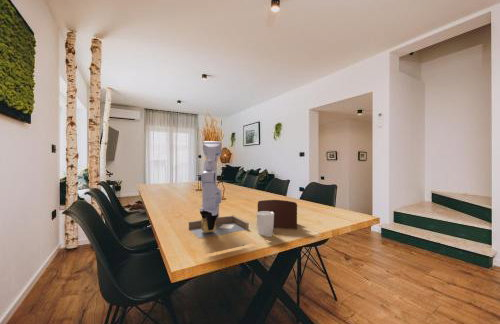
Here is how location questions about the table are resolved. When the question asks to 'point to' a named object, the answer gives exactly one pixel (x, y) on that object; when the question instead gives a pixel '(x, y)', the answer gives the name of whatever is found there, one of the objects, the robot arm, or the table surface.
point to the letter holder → (281, 212)
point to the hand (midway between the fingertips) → (208, 227)
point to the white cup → (265, 223)
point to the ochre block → (206, 226)
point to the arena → (220, 226)
